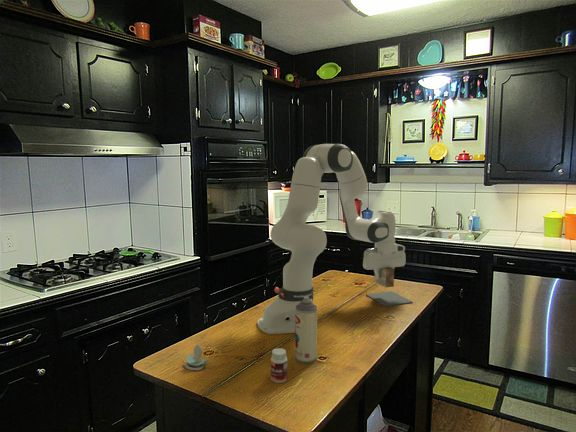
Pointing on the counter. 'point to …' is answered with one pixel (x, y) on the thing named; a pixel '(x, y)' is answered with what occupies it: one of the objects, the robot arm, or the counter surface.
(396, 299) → the rubber mat
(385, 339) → the counter surface
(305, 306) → the aerosol can
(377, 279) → the wooden block
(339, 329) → the counter surface
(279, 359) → the pill bottle
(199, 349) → the pacifier
